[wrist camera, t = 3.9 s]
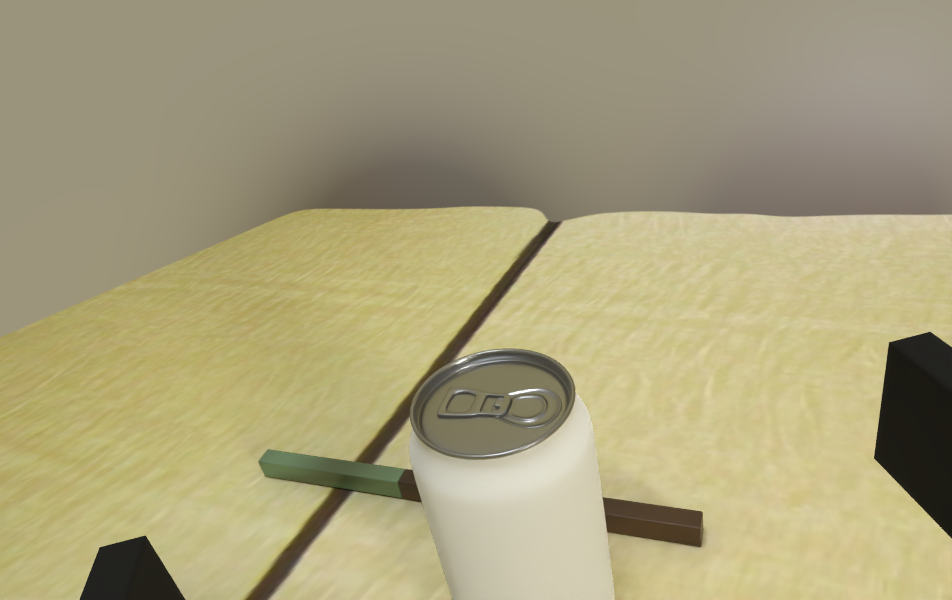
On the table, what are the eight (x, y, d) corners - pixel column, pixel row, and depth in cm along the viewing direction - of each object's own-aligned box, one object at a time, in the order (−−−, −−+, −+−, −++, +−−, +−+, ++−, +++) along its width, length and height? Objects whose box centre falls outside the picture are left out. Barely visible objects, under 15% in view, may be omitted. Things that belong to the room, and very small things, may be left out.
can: (606, 711, 26) (567, 476, 20) (444, 677, 28) (365, 458, 22) (627, 564, 31) (602, 343, 25) (489, 546, 33) (435, 339, 27)
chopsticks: (125, 652, 32) (113, 636, 31) (274, 464, 41) (267, 448, 41) (667, 822, 23) (665, 804, 22) (703, 529, 32) (702, 510, 31)
